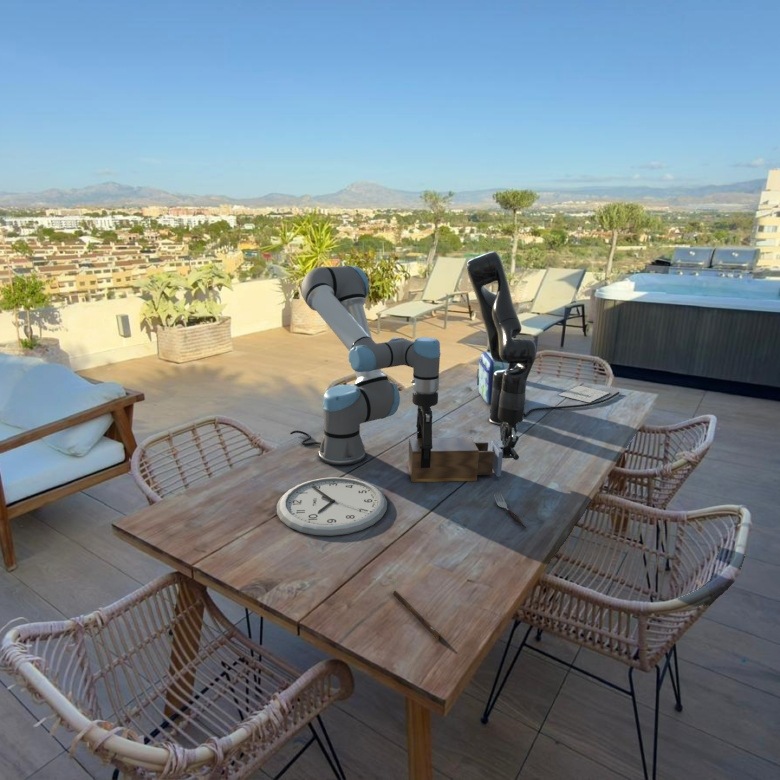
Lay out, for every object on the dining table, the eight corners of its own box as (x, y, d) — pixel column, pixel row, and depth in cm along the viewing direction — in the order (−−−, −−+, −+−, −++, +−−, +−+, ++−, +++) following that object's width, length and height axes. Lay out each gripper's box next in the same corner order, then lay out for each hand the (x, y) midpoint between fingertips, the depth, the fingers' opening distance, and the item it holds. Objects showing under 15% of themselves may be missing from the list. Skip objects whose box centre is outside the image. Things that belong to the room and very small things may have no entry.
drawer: (509, 463, 168) (511, 440, 165) (518, 476, 159) (520, 451, 157) (435, 464, 166) (436, 441, 164) (439, 477, 158) (441, 453, 155)
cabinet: (469, 465, 168) (471, 437, 165) (477, 480, 158) (479, 450, 155) (408, 466, 167) (409, 438, 164) (411, 481, 157) (412, 451, 154)
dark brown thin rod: (392, 594, 108) (393, 590, 108) (394, 593, 109) (394, 589, 108) (438, 640, 96) (438, 636, 96) (440, 639, 97) (440, 635, 96)
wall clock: (392, 527, 129) (268, 531, 127) (391, 533, 130) (269, 537, 127) (383, 473, 158) (282, 475, 155) (383, 478, 158) (282, 480, 156)
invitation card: (579, 385, 255) (609, 392, 245) (579, 386, 255) (609, 393, 245) (558, 394, 241) (589, 402, 231) (558, 395, 241) (589, 402, 231)
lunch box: (475, 390, 246) (478, 346, 240) (498, 390, 246) (501, 347, 240) (484, 408, 221) (487, 360, 215) (509, 409, 221) (513, 360, 215)
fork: (520, 530, 132) (521, 523, 132) (492, 499, 147) (492, 493, 146) (529, 529, 133) (530, 522, 132) (500, 498, 147) (501, 492, 147)
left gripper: (408, 379, 164) (407, 444, 171) (417, 403, 143) (415, 476, 149) (432, 379, 165) (430, 444, 172) (444, 403, 143) (441, 476, 150)
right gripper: (494, 397, 163) (488, 448, 168) (505, 411, 151) (499, 466, 156) (517, 397, 164) (511, 448, 169) (530, 412, 151) (524, 466, 156)
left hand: (423, 459), depth 160 cm, fingers closed on cabinet, 10 cm apart
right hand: (505, 457), depth 162 cm, fingers closed
